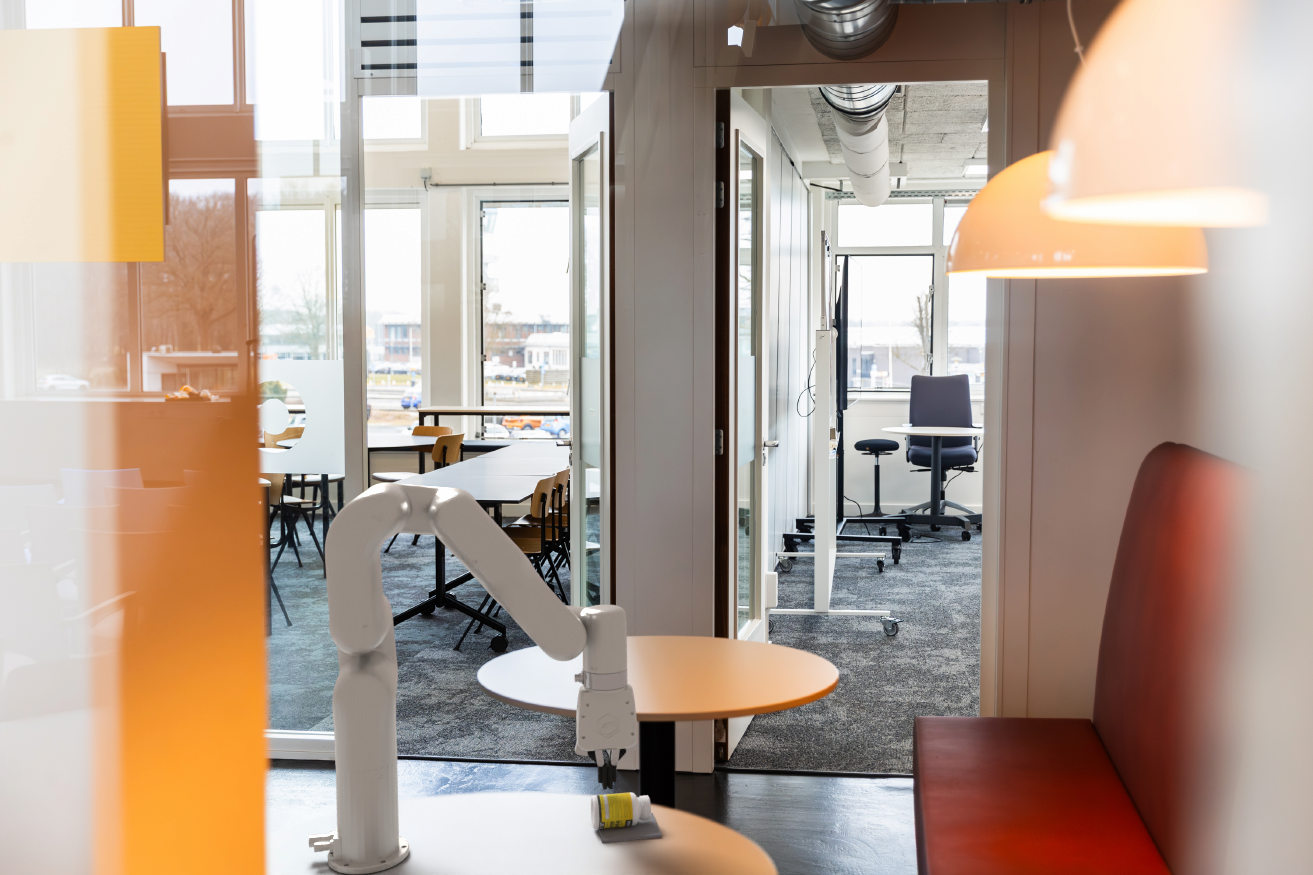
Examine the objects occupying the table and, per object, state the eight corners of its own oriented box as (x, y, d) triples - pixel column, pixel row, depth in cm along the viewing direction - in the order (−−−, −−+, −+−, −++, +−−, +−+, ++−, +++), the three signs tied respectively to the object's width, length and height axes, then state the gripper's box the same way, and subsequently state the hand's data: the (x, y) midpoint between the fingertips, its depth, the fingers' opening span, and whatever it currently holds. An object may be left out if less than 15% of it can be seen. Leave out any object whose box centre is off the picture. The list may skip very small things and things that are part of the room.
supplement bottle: (595, 828, 159) (653, 822, 161) (593, 793, 162) (649, 788, 164) (591, 831, 164) (648, 825, 166) (589, 797, 166) (644, 792, 168)
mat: (602, 842, 158) (602, 839, 158) (596, 820, 167) (596, 817, 167) (661, 837, 160) (661, 834, 160) (652, 815, 169) (652, 812, 169)
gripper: (562, 688, 158) (564, 798, 158) (652, 682, 160) (654, 791, 161) (559, 675, 165) (561, 781, 165) (645, 670, 168) (646, 774, 168)
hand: (607, 786), depth 163 cm, fingers closed
